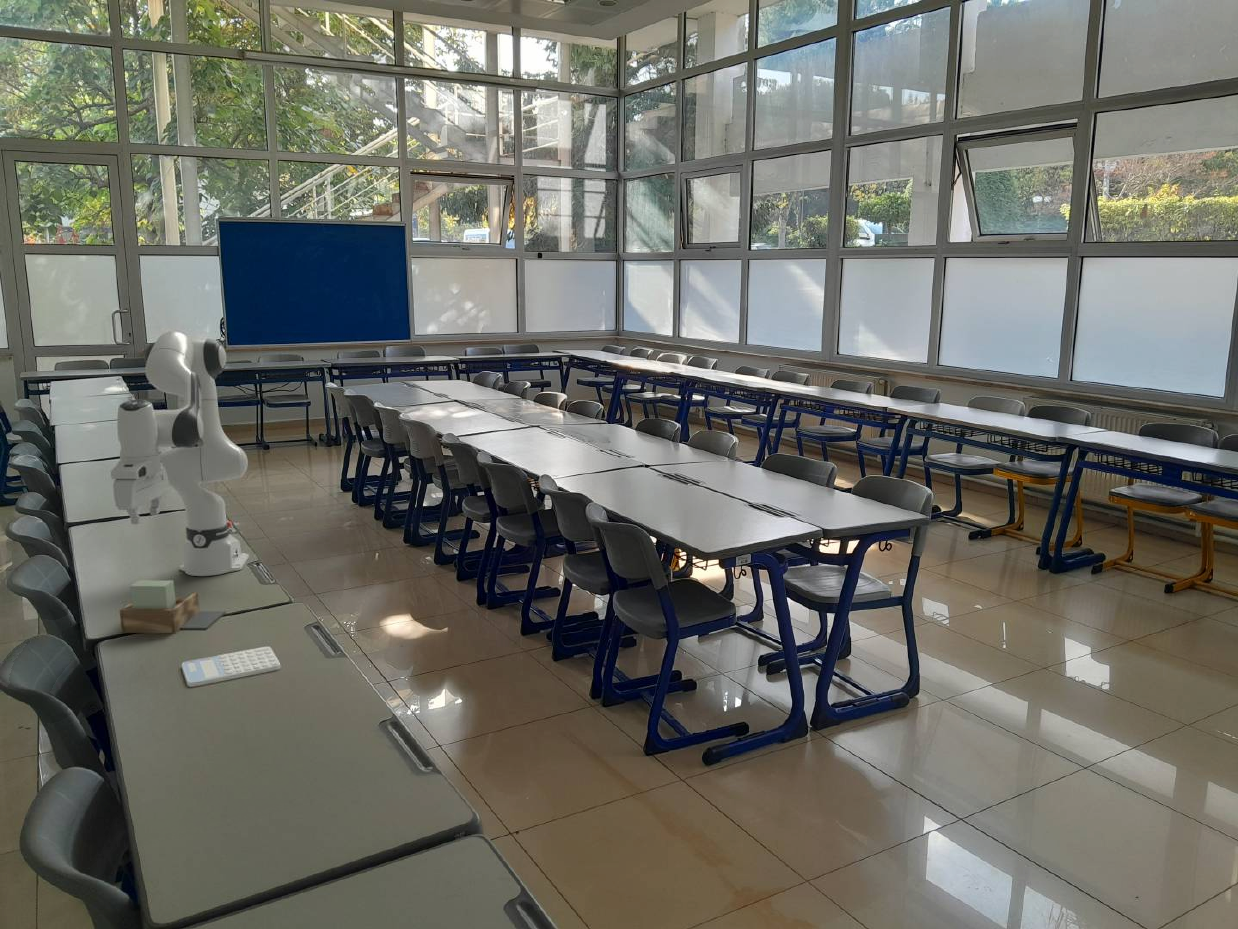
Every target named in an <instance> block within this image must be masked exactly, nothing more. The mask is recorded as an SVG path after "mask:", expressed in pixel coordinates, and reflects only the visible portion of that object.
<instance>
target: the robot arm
mask: <svg viewBox="0 0 1238 929" xmlns="http://www.w3.org/2000/svg"><path fill="white" fill-rule="evenodd" d="M144 363H145V376H146V379H147V381H148V382H149V383H150V384H151V385H152V386H153V387H154V388H155V389H157V390H159V391H161V392H162V393H165V394H171V395H175V396H177V409H154V405H153V404H152V402H151V401H149V400H145V399H133V400H127V401H124V402H122V403H120V404H119V406H118V409H117V421H116V422H117V437H118V438H117V439H118V441H119V443H120V444H119V445H120V451H119V460H118V462H117V464H116V465H115V466H114V468H112V469H111V471H110V478H111V479H112V480H114V481H113V486H112V488H113V489H112V490H113V497H114V503H115V507H116V509H117V510H119V511H126V512H127V514H128V516H129V518H130V523H131V525H140V524H141V523H142V517H141V515H139V513H138V511H139V508H140V506H143V505H145V504H148V503H150V502H151V503H150V507H149V514H150V516H156V515H159V513H160V506H161V502H162V497H163V496H164V495H166V494H167V493H169V491H170V490H169V489H170V487H171V488H172V489H174V491H176V492H177V494H178V495H179V496H180V498H181V500H182V502H183V506H184V510H185V517H186V518H185V519H186V524H187V525H186V527H185V535H186V540H187V541H186V542H184V543H183V545H182V546H183V549H182V552H183V553H182V554H183V555H182V556H183V557H182V558H183V559H182V560H183V561H182V562H183V563H182V565H179V570H180V571H182V572H184V573H185V574H187V575H188V576H193V577H194V576H197V577H209V576H216V575H217V576H218V575H222V574H225V573H230V572H236V571H241V570H242V569H243V567H244V566H245V564H246V562H247V561H248V560H249V558H250V556H249V555H250V554H249V553H245V552H242V550H241V542H240V541H239V540H238V539H237V538H235V537H234V536H233V535H231V530H230V528H231V529H232V527H233V523H232V521H227V516H226V514H227V513H226V512H227V511H226V503H225V501H224V499H223V498H222V497H221V496H220V495H219V494H217V493H214V492H212V491H209V490H207V489H205V488H204V487H203V486H202V484H203V483H209V482H210V483H214V482H226V481H232V480H235V479H240V478H242V477H243V476H244V474H245V473H246V472H247V470H248V466H249V459H248V456H247V454H246V452H245V451H244V449H242V448H241V447H240V446H238V445H237V444H235V443H234V442H233V441H231V439H229V437H228V436H227V435H226V433H225V432H224V430H223V426H222V424H221V419H220V413H219V405H218V404H219V403H218V392H217V386H216V382H215V380H216V379H217V377H218V376H219V375H220V374H222V372H223V371H224V370H225V368H226V365H227V364H226V363H227V352H226V350H225V346H224V345H223V344H222V342H220V341H219V340H216V339H210V338H206V339H202V338H201V339H200V338H199V339H197V338H190V337H188V336H187V335H186V334H184V333H182V332H179V331H173V330H172V331H167V332H164V333H163V334H161V335H160V336H159V337H158V338H157V339H156V341H155V342H152V343H150V344H149V345H148V346H147V347H146V348H145V351H144ZM201 440H202V442H203V445H201V446H196V445H198V444H199V443H200V442H201ZM170 447H171V448H170ZM159 448H169V449H165V450H162V451H161V452H160V450H159Z"/></svg>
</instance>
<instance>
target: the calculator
mask: <svg viewBox="0 0 1238 929" xmlns="http://www.w3.org/2000/svg"><path fill="white" fill-rule="evenodd" d="M281 667H282V666H281V663H280V661H279V659H278V658H277V656H276V654H275V653H274V650H273V649H272V647H271V646H262V647H257V648H250V649H246V650H240V651H236V652H230V653H224V654H218V655H215V656H209V657H203V658H198V659H197V658H196V659H193V660H186V661H183V662H182V663H181V669H182V670H181V671H182V674H183V676H184V679H185V682H186V685H187V686H188V687H190V688H192V687H199V686H204V685H209V684H215V683H219V682H224V681H225V682H226V681H229V680H234V679H239V678H245V677H248V676H249V677H250V676H255V675H259V674H264V673H269V672H274V671H279V670H280V669H281Z"/></svg>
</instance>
